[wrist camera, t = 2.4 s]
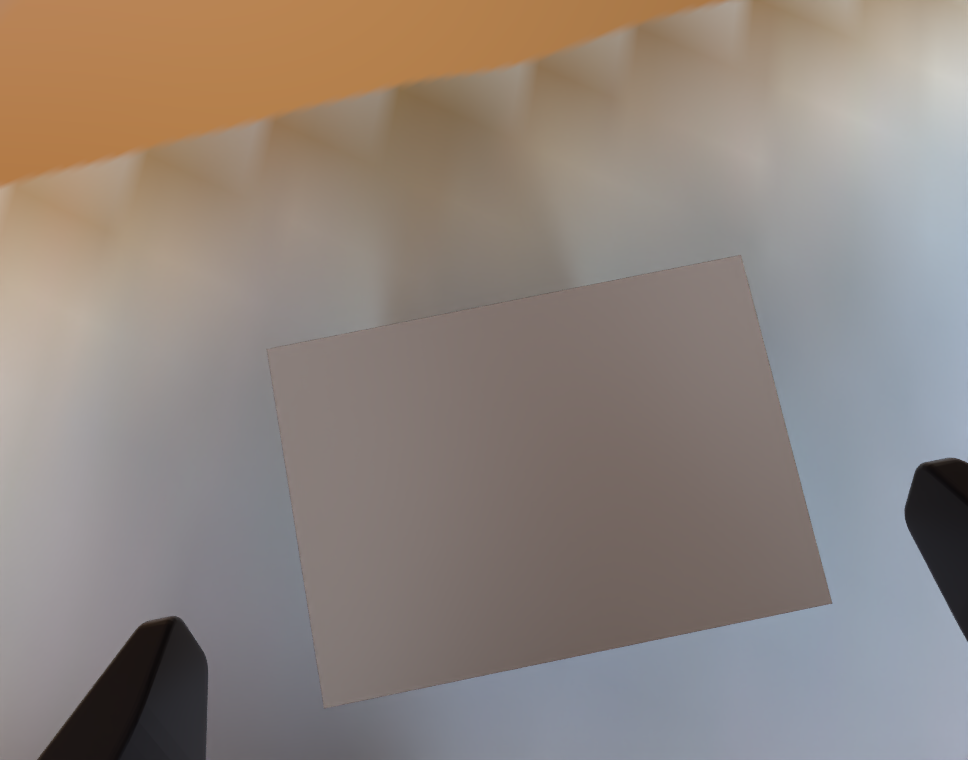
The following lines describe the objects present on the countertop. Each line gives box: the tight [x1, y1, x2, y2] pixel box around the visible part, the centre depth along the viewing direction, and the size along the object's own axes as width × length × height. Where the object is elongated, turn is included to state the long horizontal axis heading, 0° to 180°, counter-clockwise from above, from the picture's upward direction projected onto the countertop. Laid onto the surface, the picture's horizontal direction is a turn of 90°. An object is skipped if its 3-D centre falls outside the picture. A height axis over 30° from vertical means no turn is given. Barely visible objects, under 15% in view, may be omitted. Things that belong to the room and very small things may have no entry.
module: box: [267, 255, 832, 708], centre depth 13 cm, size 4×6×10 cm
